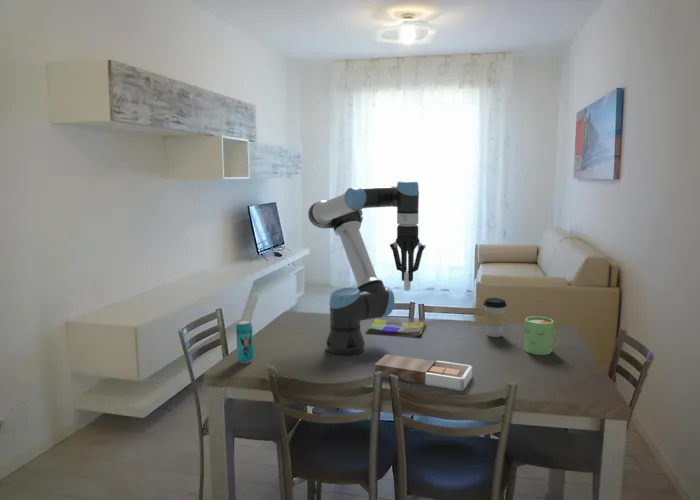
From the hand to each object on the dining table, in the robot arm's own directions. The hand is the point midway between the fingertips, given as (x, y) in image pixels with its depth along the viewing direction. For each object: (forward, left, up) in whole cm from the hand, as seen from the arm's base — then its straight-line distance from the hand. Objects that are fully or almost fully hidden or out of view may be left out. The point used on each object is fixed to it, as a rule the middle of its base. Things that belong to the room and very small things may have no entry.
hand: (407, 289), depth 200 cm
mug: (+44, +29, -27) cm, 59 cm away
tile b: (+20, -14, -23) cm, 33 cm away
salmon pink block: (+15, -14, -26) cm, 33 cm away
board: (+4, -14, -26) cm, 30 cm away
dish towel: (-16, +34, -27) cm, 46 cm away
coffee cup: (+24, +42, -27) cm, 55 cm away
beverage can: (-54, -25, -27) cm, 65 cm away
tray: (+20, -14, -26) cm, 35 cm away
